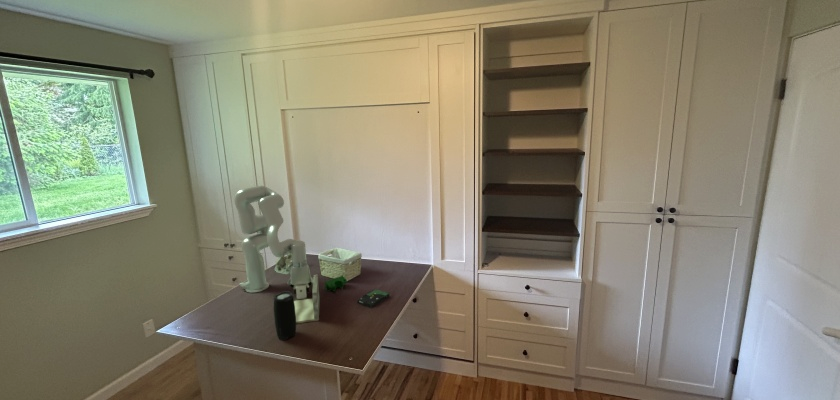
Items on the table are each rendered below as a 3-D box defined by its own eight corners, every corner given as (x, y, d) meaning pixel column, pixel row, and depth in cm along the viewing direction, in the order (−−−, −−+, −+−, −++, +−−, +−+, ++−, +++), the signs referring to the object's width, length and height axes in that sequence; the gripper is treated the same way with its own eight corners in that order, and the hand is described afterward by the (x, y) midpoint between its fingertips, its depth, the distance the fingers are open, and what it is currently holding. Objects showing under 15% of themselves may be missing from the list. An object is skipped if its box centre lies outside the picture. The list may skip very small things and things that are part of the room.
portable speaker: (288, 327, 156) (285, 288, 152) (301, 333, 151) (298, 293, 147) (271, 336, 149) (267, 296, 145) (285, 343, 144) (281, 301, 140)
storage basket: (318, 275, 214) (316, 253, 212) (336, 267, 228) (335, 246, 225) (345, 283, 202) (344, 260, 199) (363, 274, 216) (362, 252, 213)
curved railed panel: (276, 326, 157) (273, 297, 154) (282, 304, 178) (279, 278, 175) (318, 320, 162) (316, 292, 159) (319, 299, 183) (317, 274, 180)
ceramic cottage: (275, 266, 229) (274, 246, 225) (301, 265, 233) (300, 245, 230) (272, 277, 214) (270, 255, 211) (299, 275, 219) (298, 254, 215)
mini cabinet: (296, 300, 182) (295, 288, 181) (298, 292, 192) (297, 280, 190) (306, 299, 183) (305, 287, 182) (307, 291, 193) (306, 279, 192)
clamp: (332, 298, 192) (327, 288, 187) (327, 293, 196) (322, 283, 191) (349, 286, 198) (345, 276, 193) (344, 280, 202) (340, 270, 197)
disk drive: (371, 309, 173) (390, 297, 185) (371, 304, 172) (389, 292, 184) (357, 303, 179) (375, 292, 191) (357, 299, 178) (375, 288, 190)
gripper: (282, 267, 179) (285, 299, 182) (315, 264, 183) (317, 295, 187) (283, 262, 186) (286, 293, 189) (315, 259, 190) (318, 289, 194)
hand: (302, 293), depth 188 cm, fingers closed on mini cabinet, 5 cm apart
